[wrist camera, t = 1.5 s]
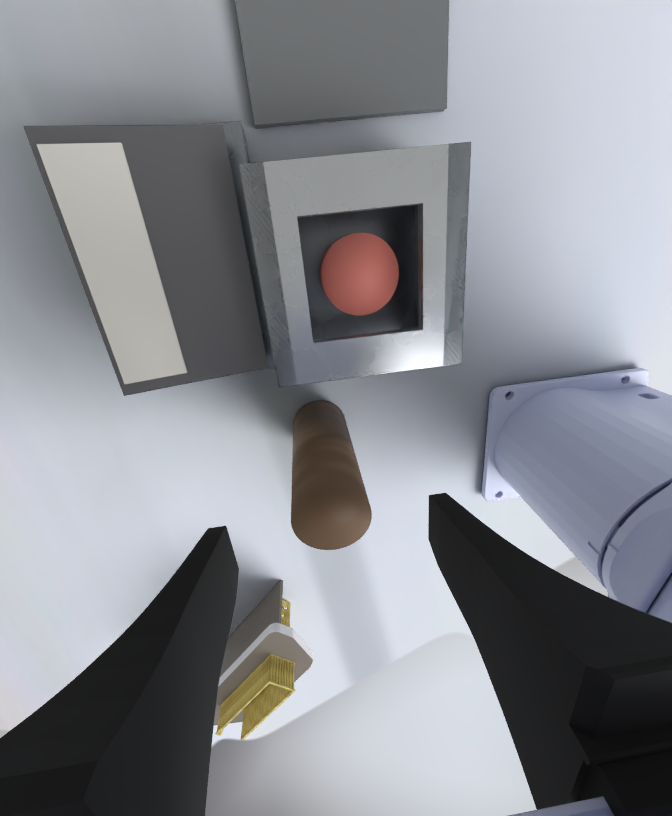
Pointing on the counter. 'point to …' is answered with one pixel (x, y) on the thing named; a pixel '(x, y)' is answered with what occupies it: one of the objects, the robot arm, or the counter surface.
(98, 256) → the rocker
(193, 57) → the counter surface
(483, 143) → the counter surface
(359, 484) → the brown cylinder
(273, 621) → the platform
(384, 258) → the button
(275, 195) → the silver metal box
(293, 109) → the mat
